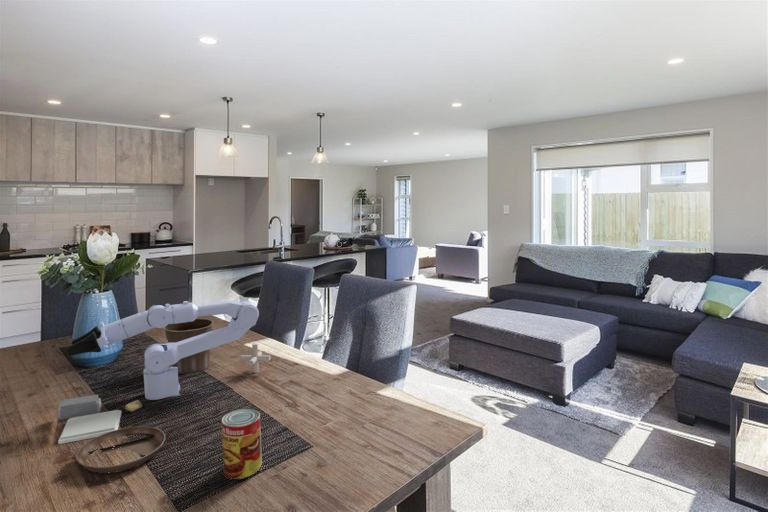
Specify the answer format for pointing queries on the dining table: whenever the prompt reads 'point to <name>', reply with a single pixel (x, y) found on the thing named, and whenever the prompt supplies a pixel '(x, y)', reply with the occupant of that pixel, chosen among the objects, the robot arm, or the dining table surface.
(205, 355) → the plant pot
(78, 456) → the plant saucer
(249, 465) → the canned food
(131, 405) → the yellow rounded lump
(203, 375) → the dining table surface
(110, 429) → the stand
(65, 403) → the block
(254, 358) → the pipe connector
